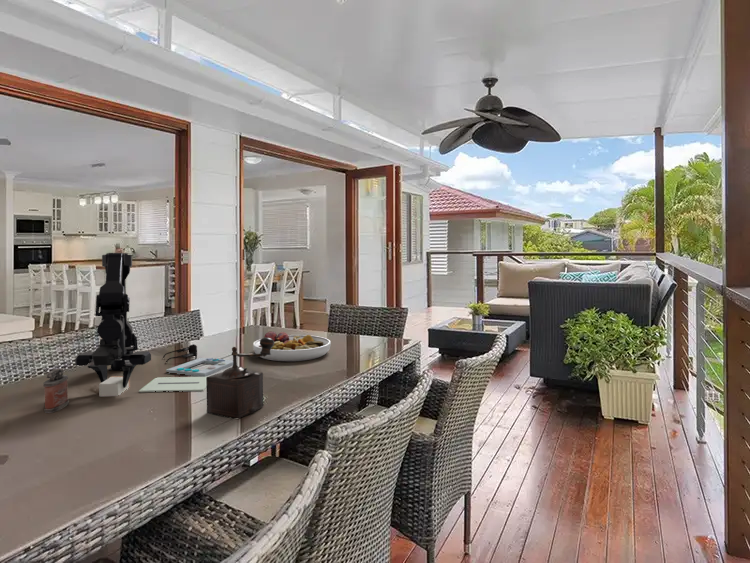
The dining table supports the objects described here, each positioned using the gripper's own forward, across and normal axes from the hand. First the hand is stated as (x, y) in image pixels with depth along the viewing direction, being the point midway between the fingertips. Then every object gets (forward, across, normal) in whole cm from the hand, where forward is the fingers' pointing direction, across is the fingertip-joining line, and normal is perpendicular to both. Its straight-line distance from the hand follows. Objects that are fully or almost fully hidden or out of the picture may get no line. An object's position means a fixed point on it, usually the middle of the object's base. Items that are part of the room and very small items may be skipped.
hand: (114, 387), depth 140 cm
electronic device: (+2, +18, +26) cm, 32 cm away
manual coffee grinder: (+2, +39, -16) cm, 42 cm away
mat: (+1, +16, +6) cm, 17 cm away
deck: (+1, 0, 0) cm, 1 cm away
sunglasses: (+2, +7, +40) cm, 40 cm away
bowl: (+2, +47, +47) cm, 66 cm away
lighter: (+1, -9, -13) cm, 16 cm away
